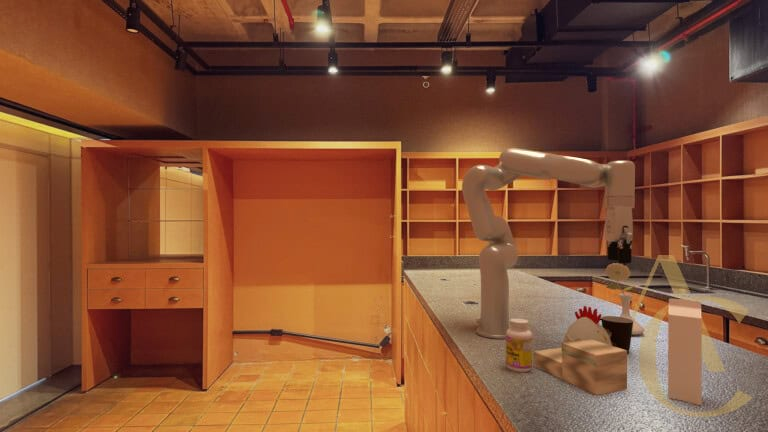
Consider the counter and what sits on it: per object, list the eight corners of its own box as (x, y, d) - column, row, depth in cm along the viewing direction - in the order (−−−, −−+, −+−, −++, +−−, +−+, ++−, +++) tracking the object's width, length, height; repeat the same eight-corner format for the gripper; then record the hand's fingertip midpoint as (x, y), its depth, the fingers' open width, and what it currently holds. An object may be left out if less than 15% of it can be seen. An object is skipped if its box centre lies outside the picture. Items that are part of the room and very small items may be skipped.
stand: (532, 366, 111) (533, 333, 111) (561, 361, 115) (561, 329, 115) (595, 395, 93) (595, 355, 93) (627, 388, 96) (627, 350, 97)
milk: (668, 389, 96) (668, 296, 97) (701, 396, 93) (700, 299, 93) (668, 398, 91) (667, 300, 92) (702, 405, 88) (701, 303, 88)
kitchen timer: (593, 369, 109) (593, 313, 110) (551, 354, 122) (551, 304, 122) (625, 361, 116) (625, 308, 116) (581, 348, 128) (582, 300, 128)
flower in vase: (650, 334, 145) (650, 264, 145) (635, 339, 139) (635, 265, 139) (612, 326, 156) (612, 261, 156) (597, 330, 149) (597, 262, 150)
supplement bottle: (500, 366, 111) (500, 318, 111) (519, 362, 114) (519, 316, 114) (518, 374, 105) (518, 324, 105) (537, 370, 108) (537, 322, 108)
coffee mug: (638, 357, 119) (638, 323, 120) (606, 355, 121) (606, 321, 121) (623, 345, 131) (623, 314, 131) (594, 343, 132) (594, 313, 133)
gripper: (597, 204, 129) (596, 258, 129) (615, 201, 112) (614, 263, 112) (623, 204, 127) (623, 259, 127) (645, 201, 110) (644, 265, 110)
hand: (618, 261), depth 119 cm, fingers open, 9 cm apart
